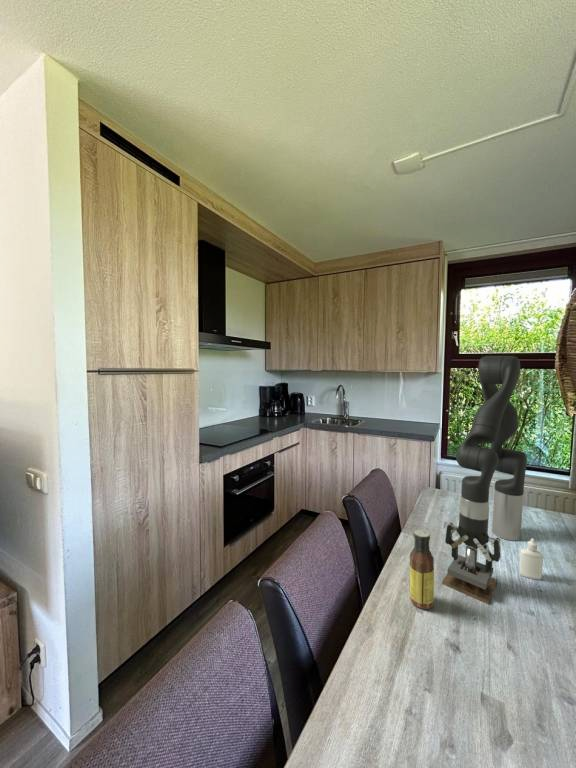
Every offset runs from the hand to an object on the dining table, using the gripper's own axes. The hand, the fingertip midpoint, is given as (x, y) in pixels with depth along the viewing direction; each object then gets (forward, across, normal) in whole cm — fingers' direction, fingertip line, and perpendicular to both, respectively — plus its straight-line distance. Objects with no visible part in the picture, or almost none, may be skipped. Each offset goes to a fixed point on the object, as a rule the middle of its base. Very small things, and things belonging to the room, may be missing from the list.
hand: (470, 564), depth 98 cm
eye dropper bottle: (+6, -13, -17) cm, 22 cm away
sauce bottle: (+6, +8, +18) cm, 21 cm away
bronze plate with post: (+6, 0, 0) cm, 6 cm away
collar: (+3, 0, 0) cm, 3 cm away
